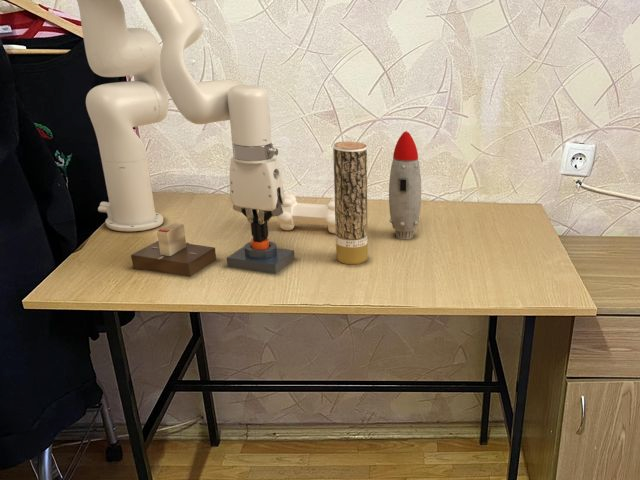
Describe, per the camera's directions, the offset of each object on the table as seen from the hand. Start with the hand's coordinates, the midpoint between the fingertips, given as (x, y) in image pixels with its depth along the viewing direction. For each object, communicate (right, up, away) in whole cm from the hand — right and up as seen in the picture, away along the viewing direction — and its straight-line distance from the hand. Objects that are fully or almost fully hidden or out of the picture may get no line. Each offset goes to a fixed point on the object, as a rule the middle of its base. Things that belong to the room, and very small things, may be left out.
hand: (260, 239), depth 151 cm
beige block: (-17, -3, -2) cm, 18 cm away
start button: (0, -1, +1) cm, 2 cm away
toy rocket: (+28, +4, +23) cm, 37 cm away
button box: (0, -5, +3) cm, 5 cm away
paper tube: (+18, -3, +7) cm, 20 cm away
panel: (-18, -5, -1) cm, 18 cm away
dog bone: (+6, +6, +23) cm, 25 cm away
